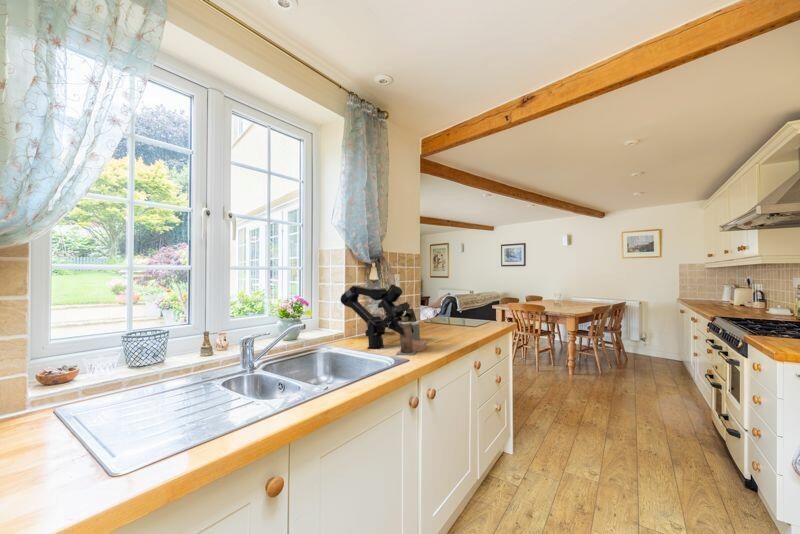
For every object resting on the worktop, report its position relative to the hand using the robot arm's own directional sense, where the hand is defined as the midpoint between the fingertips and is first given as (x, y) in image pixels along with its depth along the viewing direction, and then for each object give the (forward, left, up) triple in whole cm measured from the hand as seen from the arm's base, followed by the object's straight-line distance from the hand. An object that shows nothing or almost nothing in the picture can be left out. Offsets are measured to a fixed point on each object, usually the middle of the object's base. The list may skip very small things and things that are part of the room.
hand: (408, 333), depth 157 cm
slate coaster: (-1, +1, -9) cm, 9 cm away
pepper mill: (-1, +1, -9) cm, 9 cm away
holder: (0, +10, -9) cm, 14 cm away
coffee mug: (-7, +27, -10) cm, 29 cm away
